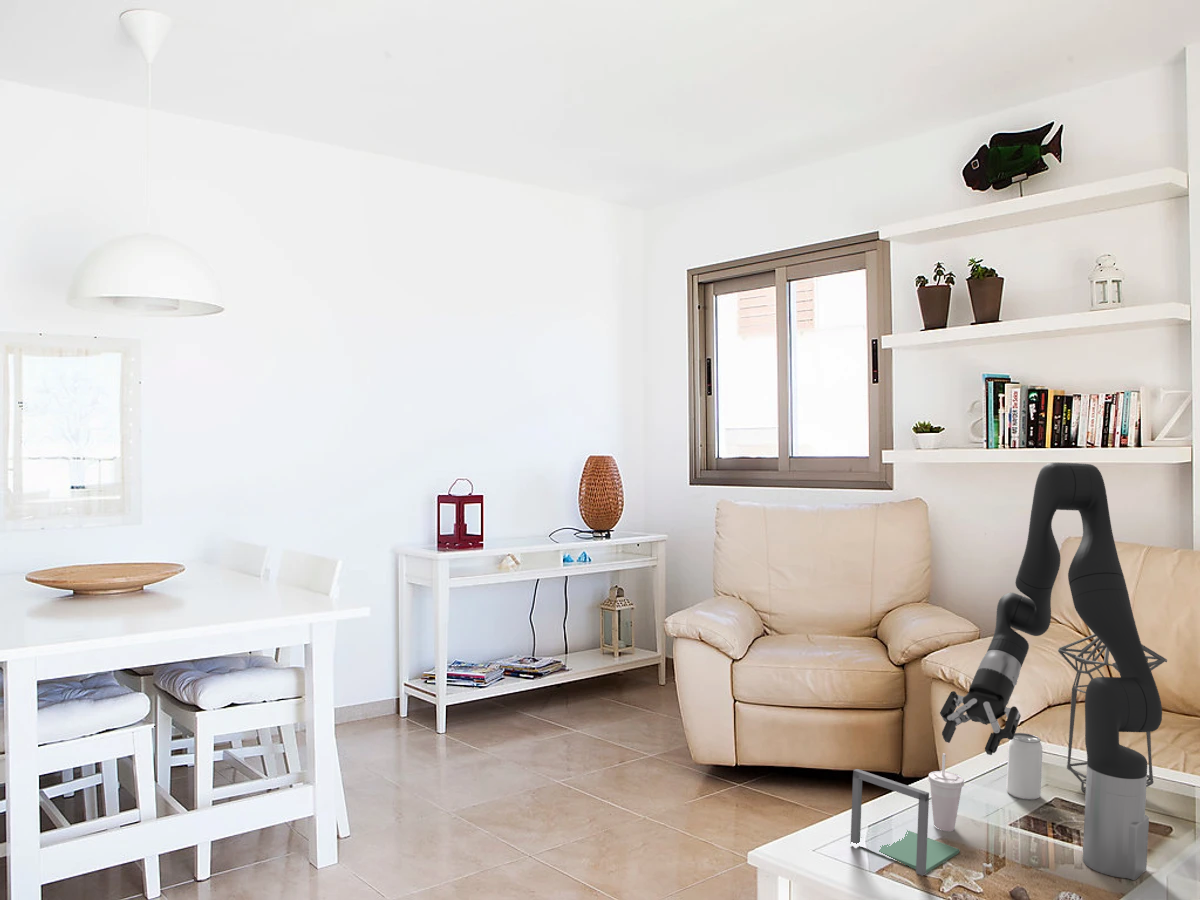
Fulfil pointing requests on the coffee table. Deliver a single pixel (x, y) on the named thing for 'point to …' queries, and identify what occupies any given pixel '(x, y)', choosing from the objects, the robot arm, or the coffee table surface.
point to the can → (1024, 766)
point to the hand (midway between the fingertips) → (966, 746)
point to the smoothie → (945, 797)
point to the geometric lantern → (1074, 689)
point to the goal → (914, 846)
